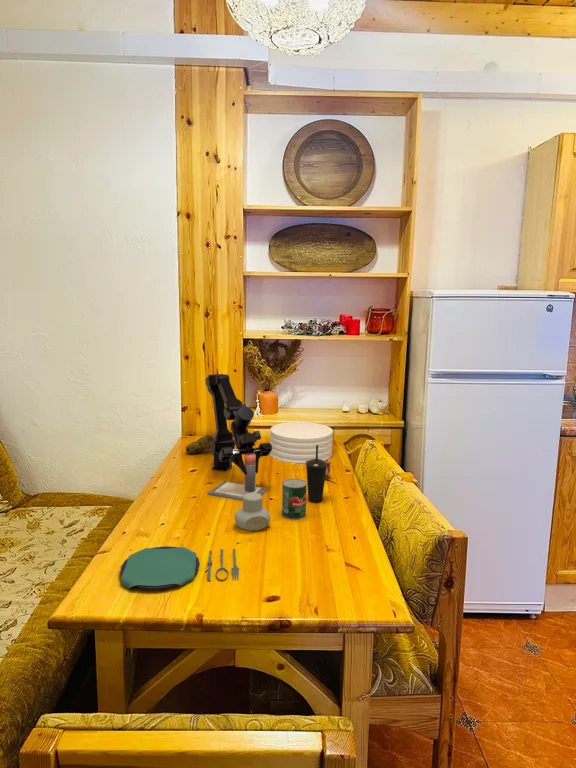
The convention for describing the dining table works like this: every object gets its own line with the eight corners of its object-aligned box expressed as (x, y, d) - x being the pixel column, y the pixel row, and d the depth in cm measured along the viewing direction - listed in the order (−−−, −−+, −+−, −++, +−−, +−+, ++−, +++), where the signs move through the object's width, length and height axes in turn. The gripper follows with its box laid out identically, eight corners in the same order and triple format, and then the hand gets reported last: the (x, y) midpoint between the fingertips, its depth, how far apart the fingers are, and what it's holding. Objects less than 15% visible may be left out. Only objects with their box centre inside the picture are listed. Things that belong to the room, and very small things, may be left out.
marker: (242, 490, 177) (242, 454, 175) (249, 487, 180) (250, 452, 178) (250, 493, 175) (250, 457, 172) (257, 490, 178) (258, 454, 175)
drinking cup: (324, 505, 172) (326, 449, 169) (302, 503, 174) (304, 447, 170) (327, 497, 180) (329, 443, 176) (306, 494, 181) (308, 441, 178)
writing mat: (207, 494, 180) (207, 492, 179) (224, 482, 192) (224, 479, 191) (253, 502, 173) (253, 500, 173) (268, 489, 185) (268, 487, 185)
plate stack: (261, 460, 219) (261, 434, 217) (280, 442, 245) (281, 419, 243) (324, 467, 211) (325, 441, 209) (337, 448, 237) (338, 425, 235)
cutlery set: (127, 553, 139) (127, 545, 138) (237, 550, 143) (237, 542, 142) (112, 597, 119) (112, 588, 119) (239, 591, 123) (240, 583, 123)
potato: (188, 450, 230) (188, 433, 228) (216, 450, 230) (216, 433, 229) (184, 455, 222) (184, 438, 220) (214, 456, 222) (214, 438, 220)
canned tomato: (289, 507, 170) (290, 476, 168) (310, 513, 166) (311, 481, 164) (277, 516, 163) (277, 483, 162) (298, 522, 159) (299, 489, 158)
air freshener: (264, 518, 162) (265, 489, 160) (273, 529, 154) (273, 498, 152) (231, 523, 158) (231, 493, 156) (238, 535, 150) (239, 503, 148)
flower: (336, 471, 201) (326, 454, 202) (337, 474, 192) (325, 457, 192) (316, 484, 202) (305, 467, 202) (315, 488, 192) (304, 470, 193)
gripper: (220, 425, 173) (231, 466, 165) (271, 420, 181) (283, 459, 173) (214, 441, 181) (223, 481, 173) (262, 436, 189) (273, 474, 181)
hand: (251, 473), depth 175 cm, fingers closed on marker, 4 cm apart
